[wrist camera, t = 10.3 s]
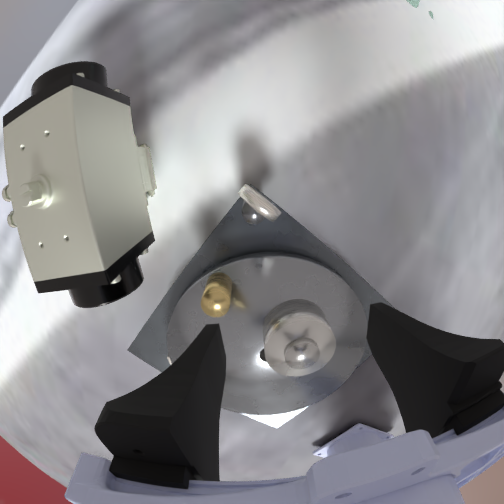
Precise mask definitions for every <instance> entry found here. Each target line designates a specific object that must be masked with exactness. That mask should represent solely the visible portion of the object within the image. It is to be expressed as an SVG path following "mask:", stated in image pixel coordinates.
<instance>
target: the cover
mask: <svg viewBox="0 0 504 504" xmlns="http://www.w3.org/2000/svg"><path fill="white" fill-rule="evenodd" d="M262 331H263V341H264V351H265V359H266V361H267V363H268V365H269V366H270V367H271V368H272V369H273V370H274V371H276V372H277V373H280V374H282V375H286V376H304V375H308V374H311V373H313V372H315V371H317V370H319V369H321V368H322V367H323V366H325V365H326V364H327V363H328V362H329V361H330V359H331V358H332V356H333V354H334V352H335V349H336V339H335V336H334V334H333V332H332V330H331V327H330V325H329V323H328V321H327V319H326V317H325V315H324V313H323V311H322V310H321V308H320V307H319V306H318V305H316V304H315V303H313V302H311V301H308V300H303V299H293V300H288V301H285V302H282V303H280V304H278V305H277V306H275V307H274V308H273V309H272V310H271V311H270V312H269V313H268V314H267V316H266V317H265V319H264V322H263V327H262Z"/></svg>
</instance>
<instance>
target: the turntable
mask: <svg viewBox="0 0 504 504" xmlns="http://www.w3.org/2000/svg"><path fill="white" fill-rule="evenodd" d="M293 299H303V300H308V301H311V302H313V303H315V304H316V305H318V306H319V307H320V308H321V310H322V311H323V313H324V315H325V317H326V319H327V321H328V323H329V325H330V327H331V330H332V332H333V334H334V336H335V339H336V349H335V352H334V354H333V356H332V358H331V359H330V361H329V362H328V363H327V364H326V365H325V366H323V367H322V368H321V369H319V370H317V371H315V372H313V373H311V374H308V375H304V376H286V375H282V374H280V373H277V372H276V371H274V370H273V369H272V368H271V367H270V366H269V365H268V363H267V361H266V359H265V351H264V341H263V331H262V327H263V322H264V319H265V317H266V316H267V314H268V313H269V312H270V311H271V310H272V309H273V308H274V307H275V306H277V305H278V304H280V303H282V302H285V301H288V300H293ZM218 323H219V325H220V330H221V335H222V339H223V344H224V349H225V353H226V378H225V384H224V391H223V397H222V403H221V408H223V409H226V410H229V411H233V412H237V413H242V414H249V415H275V414H283V413H288V412H292V411H296V410H299V409H303V408H305V407H308V406H310V405H313V404H315V403H317V402H319V401H320V400H322V399H324V398H326V397H327V396H329V395H330V394H332V393H333V392H334V391H335V390H337V389H338V388H339V387H340V386H341V385H342V384H343V383H344V382H345V381H346V380H347V379H348V378H349V377H350V376H351V374H352V373H353V372H354V370H355V369H356V367H357V366H358V364H359V362H360V360H361V358H362V355H363V353H364V350H365V346H366V341H367V339H366V335H367V320H366V315H365V312H364V309H363V307H362V304H361V302H360V300H359V299H358V297H357V295H356V294H355V292H354V291H353V290H352V288H351V287H350V286H349V285H348V284H347V282H346V281H345V280H344V279H343V278H342V277H341V276H340V275H339V274H337V273H336V272H335V271H334V270H332V269H331V268H329V267H327V266H326V265H324V264H322V263H320V262H318V261H315V260H313V259H311V258H308V257H304V256H300V255H297V254H290V253H283V252H261V253H253V254H247V255H243V256H239V257H235V258H232V259H230V260H227V261H225V262H222V263H220V264H218V265H216V266H214V267H212V268H211V269H209V270H207V271H206V272H205V273H203V274H202V275H201V276H199V277H198V278H197V279H196V280H195V281H194V282H193V283H192V284H191V285H190V286H189V287H188V288H187V289H186V290H185V292H184V293H183V294H182V296H181V297H180V299H179V301H178V303H177V305H176V307H175V309H174V311H173V313H172V316H171V319H170V322H169V325H168V331H167V348H168V356H167V359H168V361H169V363H170V365H171V364H173V363H174V362H175V361H176V360H177V359H178V358H179V357H180V355H181V354H182V353H183V352H184V351H185V350H186V349H187V348H188V347H189V345H190V344H191V343H192V342H193V341H194V339H195V338H196V337H197V335H198V334H199V333H200V332H201V330H202V329H203V328H204V327H205V325H206V324H218Z"/></svg>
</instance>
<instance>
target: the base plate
mask: <svg viewBox="0 0 504 504" xmlns="http://www.w3.org/2000/svg"><path fill="white" fill-rule="evenodd" d="M249 186H250V187H252V188H253V189H255V190H256V191H257V192H259V193H260V194H261V195H263V196H264V197H265V198H266V199H267V200H269V201H270V202H271V203H272V204H273V205H274V206H275V207H277V208H278V209H279V210H280V211H281V214H280V215H279V216H278V218H277V219H276V220H275V221H274V222H272V221H270V220H269V219H267V218H266V217H265V218H264V220H263V221H262V222H260V223H258V224H249V223H247V222H246V221H245V220H244V219H243V216H242V206H243V199H242V198H241V197H240V198H239V199H238V200H237V201H236V203H235V204H234V205H233V206H232V208H231V209H230V210H229V212H228V213H227V214H226V215H225V217H224V218H223V219H222V220H221V222H220V223H219V224H218V226H217V227H216V228H215V230H214V231H213V232H212V233H211V235H210V236H209V237H208V239H207V240H206V241H205V243H204V244H203V245H202V247H201V248H200V249H199V250H198V252H197V253H196V254H195V256H194V257H193V258H192V260H191V261H190V262H189V264H188V265H187V267H186V268H185V269H184V271H183V272H182V273H181V275H180V276H179V277H178V279H177V280H176V282H175V283H174V284H173V286H172V287H171V288H170V290H169V291H168V293H167V294H166V295H165V297H164V298H163V300H162V301H161V302H160V304H159V305H158V307H157V308H156V309H155V311H154V312H153V314H152V315H151V317H150V318H149V319H148V321H147V322H146V324H145V325H144V327H143V328H142V329H141V331H140V332H139V334H138V335H137V337H136V338H135V340H134V341H133V343H132V344H131V346H130V347H129V349H128V351H129V352H131V353H132V354H134V355H135V356H137V357H138V358H140V359H141V360H143V361H145V362H146V363H148V364H149V365H151V366H152V367H154V368H156V369H157V370H159V371H161V372H163V371H164V370H166V369H167V368H168V367H169V366H170V363H169V361H168V359H167V356H168V348H167V331H168V325H169V322H170V319H171V316H172V313H173V311H174V309H175V307H176V305H177V303H178V301H179V299H180V297H181V296H182V294H183V293H184V292H185V290H186V289H187V288H188V287H189V286H190V285H191V284H192V283H193V282H194V281H195V280H196V279H197V278H198V277H199V276H201V275H202V274H203V273H205V272H206V271H207V270H209V269H211V268H212V267H214V266H216V265H218V264H220V263H222V262H225V261H227V260H230V259H232V258H235V257H239V256H243V255H247V254H253V253H261V252H283V253H290V254H297V255H300V256H304V257H308V258H311V259H313V260H315V261H318V262H320V263H322V264H324V265H326V266H327V267H329V268H331V269H332V270H334V271H335V272H336V273H337V274H339V275H340V276H341V277H342V278H343V279H344V280H345V281H346V282H347V284H348V285H349V286H350V287H351V288H352V290H353V291H354V292H355V294H356V295H357V297H358V299H359V300H360V302H361V304H362V307H363V309H364V312H365V315H366V320H367V328H368V319H369V310H370V304H374V303H380V302H382V303H384V304H386V305H389V306H391V307H392V308H394V307H393V306H392V305H391V304H390V303H389V302H388V301H386V300H385V299H384V298H383V297H382V296H381V295H380V294H379V293H378V292H377V291H376V290H375V289H374V288H373V287H371V286H370V285H369V284H368V283H367V282H366V281H365V280H364V279H363V278H362V277H361V276H359V275H358V274H357V273H356V272H355V271H354V270H353V269H352V268H351V267H349V266H348V265H347V264H346V263H345V262H344V261H343V260H342V259H340V258H339V257H338V256H337V255H336V254H335V253H334V252H333V251H331V250H330V249H329V248H328V247H327V246H326V245H324V244H323V243H322V242H321V241H320V240H319V239H317V238H316V237H315V236H314V235H313V234H312V233H310V232H309V231H308V230H307V229H306V228H304V227H303V226H302V225H301V224H300V223H299V222H297V221H296V220H295V219H294V218H292V217H291V216H290V215H289V214H288V213H286V212H285V211H284V210H283V209H282V208H280V207H279V206H278V205H277V204H275V203H274V202H273V201H272V200H270V199H269V198H268V197H267V196H265V195H264V194H263V193H262V192H260V191H259V190H258V189H257V188H255V187H254V186H253V185H252V184H250V185H249ZM394 309H395V308H394ZM371 355H372V352H371V350H370V347H369V345H368V342H367V341H366V346H365V350H364V353H363V355H362V358H361V360H360V362H359V364H358V366H357V367H359V366H360V365H361V364H362V363H363V362H364V361H365V360H366V359H368V358H369V357H370V356H371ZM357 367H356V368H357ZM308 407H309V406H308ZM306 408H307V407H305V408H303V409H299V410H296V411H292V412H288V413H283V414H275V415H249V414H243V415H246V416H248V417H250V418H252V419H255V420H257V421H260V422H262V423H265V424H267V425H270V426H272V427H275V428H278V427H279V426H281V425H282V424H284V423H286V422H287V421H288V420H290V419H291V418H293V417H294V416H296V415H297V414H299V413H300V412H302V411H303V410H304V409H306ZM241 414H242V413H241Z"/></svg>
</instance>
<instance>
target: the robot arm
mask: <svg viewBox="0 0 504 504" xmlns="http://www.w3.org/2000/svg"><path fill="white" fill-rule="evenodd" d="M366 339H367V342H368V345H369V347H370V350H371V352H372V355H373V356H374V358H375V360H376V362H377V364H378V365H379V367H380V369H381V371H382V372H383V374H384V376H385V378H386V380H387V381H388V383H389V385H390V387H391V389H392V391H393V393H394V396H395V399H396V401H397V404H398V407H399V410H400V413H401V416H402V419H403V422H404V426H405V430H406V433H405V434H403V435H400V436H397V437H394V436H393V435H392V434H389V433H386V432H383V431H380V430H377V429H375V428H372V427H369V426H366V425H364V424H361V423H358V424H356V425H355V426H353V427H352V428H350V429H349V430H347V431H346V432H344V433H343V434H341V435H340V436H338V437H337V438H335V439H333V440H332V441H330V442H328V443H327V444H325V445H324V446H322V447H320V448H318V449H317V450H315V451H314V452H313V455H316V456H320V457H324V459H322V460H320V461H318V462H316V463H314V464H313V465H312V466H311V468H310V469H309V470H308V472H307V474H306V476H300V477H292V478H284V479H274V480H261V481H220V480H219V418H220V409H221V403H222V397H223V391H224V384H225V378H226V353H225V349H224V344H223V339H222V335H221V330H220V325H219V323H218V324H206V325H205V327H204V328H203V329H202V330H201V332H200V333H199V334H198V335H197V337H196V338H195V339H194V341H193V342H192V343H191V344H190V345H189V347H188V348H187V349H186V350H185V351H184V352H183V353H182V354H181V355H180V357H179V358H178V359H177V360H176V361H175V362H174V363H173V364H171V365H170V366H169V367H168V368H167V369H166V370H164V371H163V372H162V373H161V374H159V375H158V376H157V377H155V378H154V379H152V380H151V381H149V382H148V383H146V384H145V385H143V386H141V387H140V388H138V389H136V390H134V391H132V392H130V393H128V394H126V395H124V396H121V397H119V398H116V399H114V400H111V401H109V402H106V404H105V406H104V408H103V410H102V412H101V414H100V416H99V418H98V421H97V423H96V425H95V432H96V434H97V436H98V438H99V439H100V440H101V442H102V443H103V444H104V445H105V446H106V447H107V449H108V450H109V451H110V452H111V453H112V454H113V455H114V457H113V460H112V462H111V461H109V460H107V459H105V458H102V457H99V456H95V455H91V454H88V453H84V452H83V453H81V456H80V458H79V460H78V463H77V465H76V468H75V470H74V473H73V475H72V477H71V480H70V483H69V485H68V488H67V491H66V493H65V498H66V499H67V500H69V501H70V502H72V503H73V504H465V502H464V500H463V498H462V495H461V493H460V491H459V488H460V487H462V486H463V485H465V484H467V483H468V482H469V481H471V480H472V479H474V478H475V477H477V476H478V475H479V474H481V473H482V472H483V471H485V470H486V469H488V468H489V467H490V466H492V465H493V464H494V463H496V462H497V461H498V460H499V459H501V458H502V457H503V456H504V393H503V392H502V391H501V390H500V389H501V388H502V383H501V382H500V381H499V380H500V378H501V376H502V374H503V372H504V343H503V342H502V341H501V340H500V339H479V338H471V337H465V336H460V335H456V334H452V333H449V332H445V331H442V330H439V329H436V328H434V327H431V326H429V325H427V324H424V323H422V322H420V321H418V320H416V319H414V318H412V317H410V316H408V315H406V314H404V313H402V312H400V311H398V310H396V309H394V308H392V307H391V306H389V305H386V304H384V303H382V302H380V303H374V304H370V310H369V319H368V328H367V335H366ZM393 437H394V438H393Z"/></svg>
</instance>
